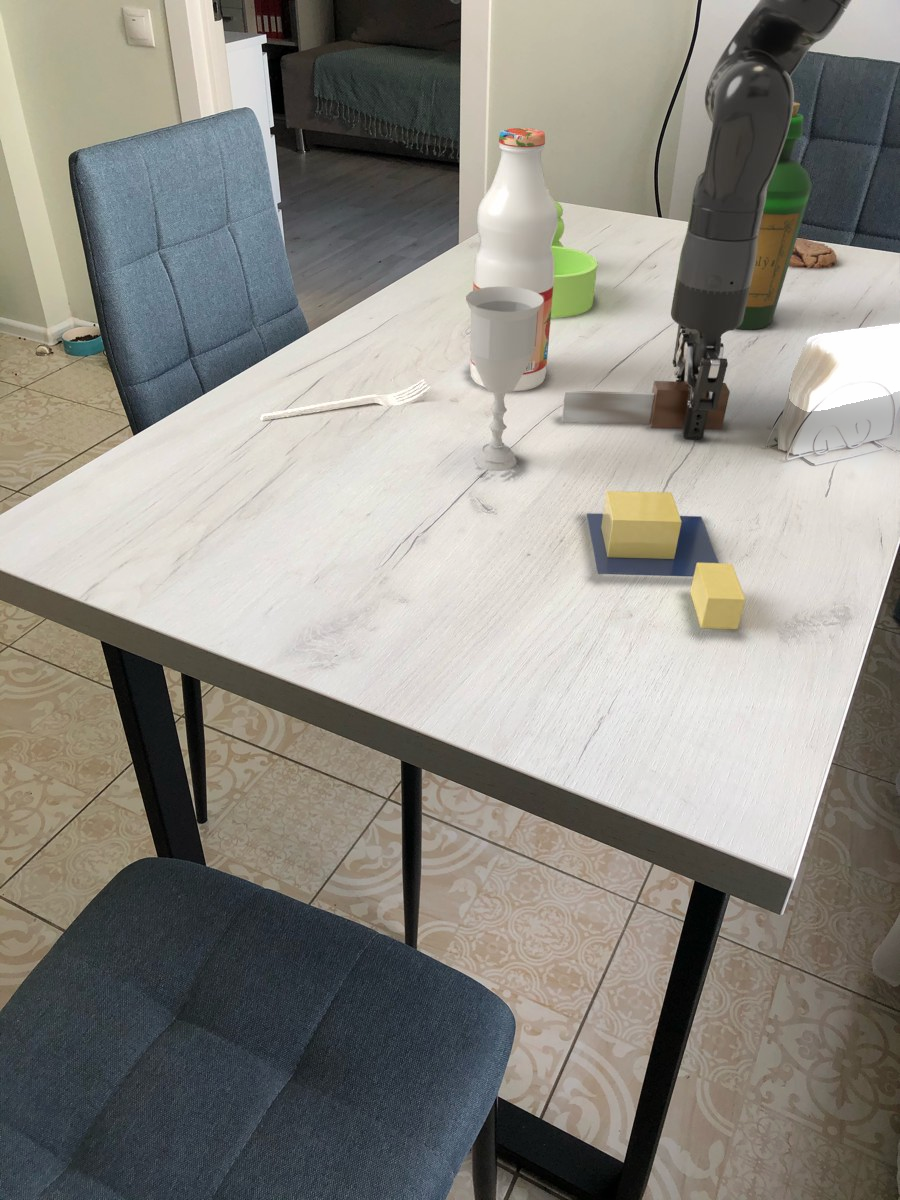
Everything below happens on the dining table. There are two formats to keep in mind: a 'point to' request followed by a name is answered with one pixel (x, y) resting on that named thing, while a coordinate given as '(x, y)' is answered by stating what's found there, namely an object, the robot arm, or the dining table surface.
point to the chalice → (501, 355)
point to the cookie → (812, 255)
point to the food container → (571, 276)
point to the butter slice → (717, 596)
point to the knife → (640, 407)
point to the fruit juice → (519, 237)
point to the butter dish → (683, 554)
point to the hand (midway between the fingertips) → (686, 423)
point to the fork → (355, 402)
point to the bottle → (778, 230)
